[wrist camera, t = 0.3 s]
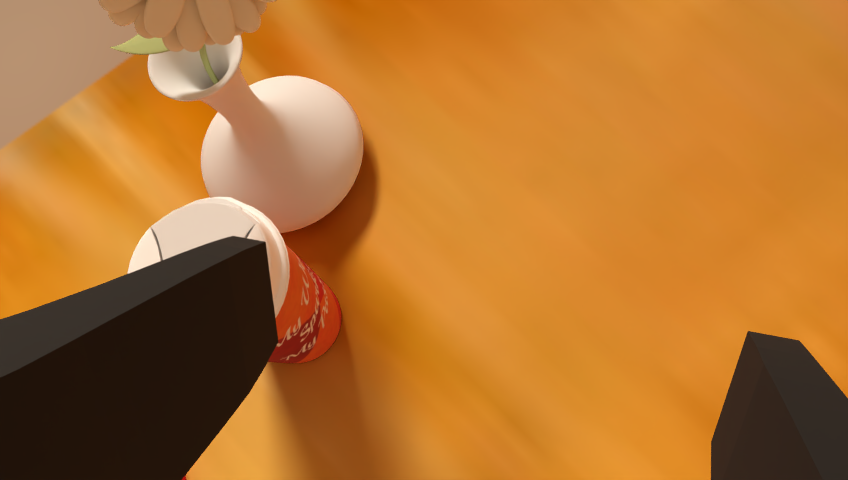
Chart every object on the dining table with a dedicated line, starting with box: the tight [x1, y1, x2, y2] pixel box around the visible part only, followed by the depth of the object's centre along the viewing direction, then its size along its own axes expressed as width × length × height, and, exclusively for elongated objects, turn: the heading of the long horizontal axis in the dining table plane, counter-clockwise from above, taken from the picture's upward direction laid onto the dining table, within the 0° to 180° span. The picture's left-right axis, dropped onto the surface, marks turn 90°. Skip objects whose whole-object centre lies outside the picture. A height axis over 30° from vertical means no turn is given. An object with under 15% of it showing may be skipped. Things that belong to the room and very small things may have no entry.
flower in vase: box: [98, 0, 363, 233], centre depth 33 cm, size 13×11×25 cm
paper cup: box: [128, 197, 341, 363], centre depth 35 cm, size 8×8×14 cm
